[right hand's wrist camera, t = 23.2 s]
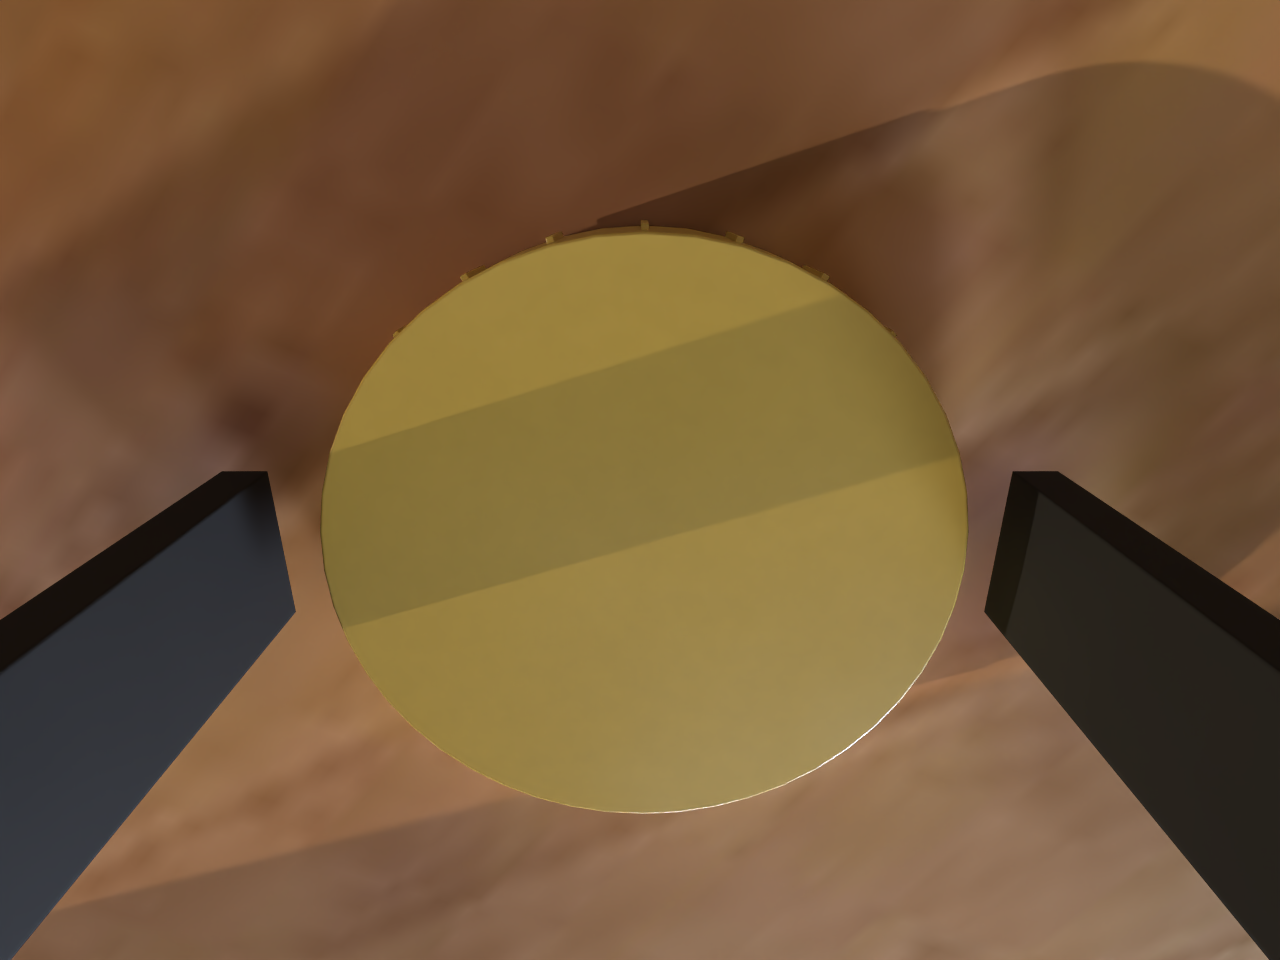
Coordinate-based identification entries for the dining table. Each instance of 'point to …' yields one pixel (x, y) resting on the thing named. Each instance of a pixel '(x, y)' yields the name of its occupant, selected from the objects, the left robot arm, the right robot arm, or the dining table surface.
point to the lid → (644, 520)
